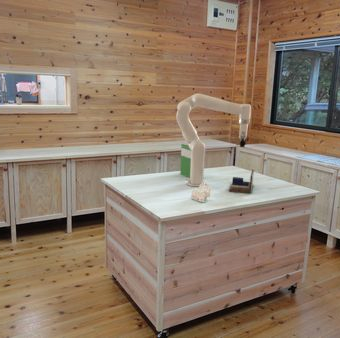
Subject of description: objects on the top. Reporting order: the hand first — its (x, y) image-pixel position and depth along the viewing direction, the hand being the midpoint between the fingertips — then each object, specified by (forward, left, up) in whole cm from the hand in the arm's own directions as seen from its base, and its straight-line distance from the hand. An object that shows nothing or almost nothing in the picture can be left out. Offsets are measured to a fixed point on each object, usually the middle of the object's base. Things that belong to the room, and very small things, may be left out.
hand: (242, 145), depth 270 cm
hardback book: (-40, +13, -28) cm, 51 cm away
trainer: (+1, -15, -26) cm, 30 cm away
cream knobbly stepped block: (-20, -47, -28) cm, 58 cm away
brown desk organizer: (+2, -11, -28) cm, 30 cm away
